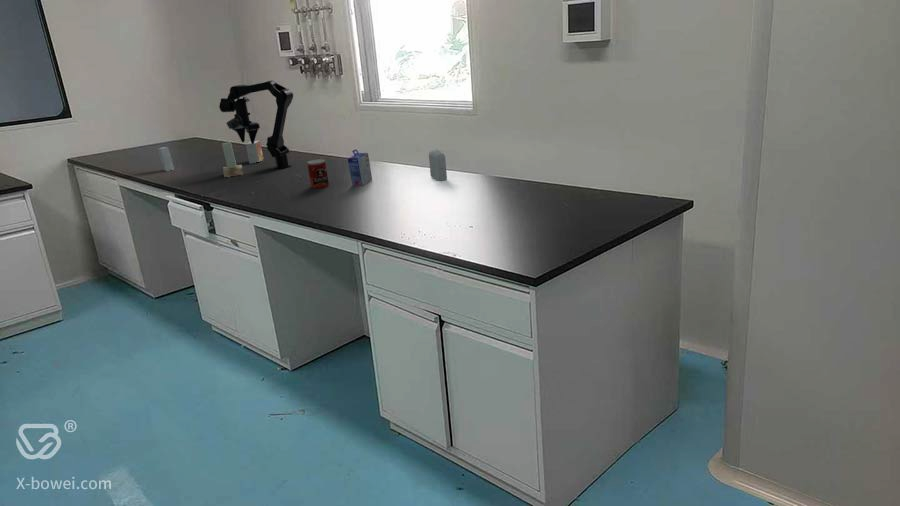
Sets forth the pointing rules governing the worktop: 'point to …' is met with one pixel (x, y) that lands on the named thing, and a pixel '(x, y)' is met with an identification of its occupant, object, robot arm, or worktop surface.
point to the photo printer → (437, 165)
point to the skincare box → (165, 158)
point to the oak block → (233, 171)
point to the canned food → (318, 173)
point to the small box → (254, 152)
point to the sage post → (229, 155)
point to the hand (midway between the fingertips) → (247, 142)
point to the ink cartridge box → (359, 168)
